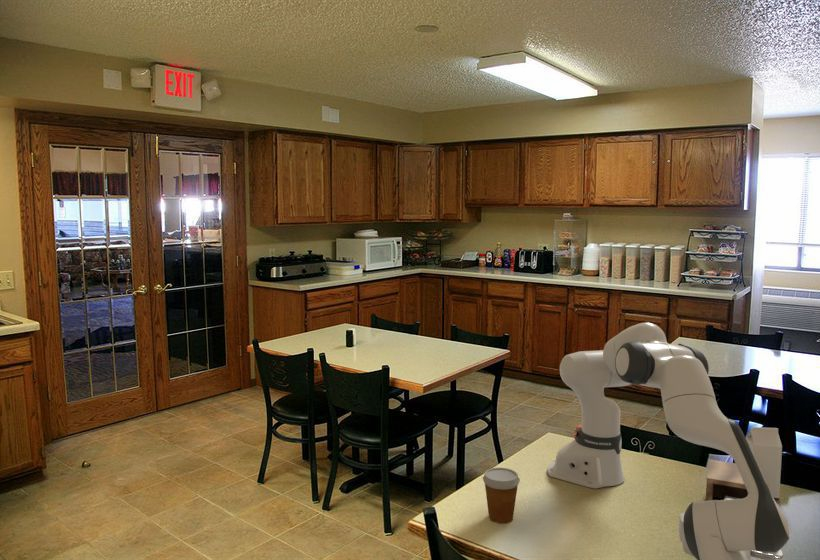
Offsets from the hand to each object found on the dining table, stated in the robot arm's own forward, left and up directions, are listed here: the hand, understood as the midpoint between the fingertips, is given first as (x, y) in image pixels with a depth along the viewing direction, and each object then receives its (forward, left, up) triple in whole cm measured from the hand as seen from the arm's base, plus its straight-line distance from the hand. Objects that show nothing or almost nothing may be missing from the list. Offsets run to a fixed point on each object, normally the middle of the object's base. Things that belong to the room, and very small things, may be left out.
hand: (727, 519), depth 143 cm
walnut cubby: (0, +25, -8) cm, 26 cm away
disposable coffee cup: (-53, -8, -8) cm, 54 cm away
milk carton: (+8, +40, -8) cm, 42 cm away
